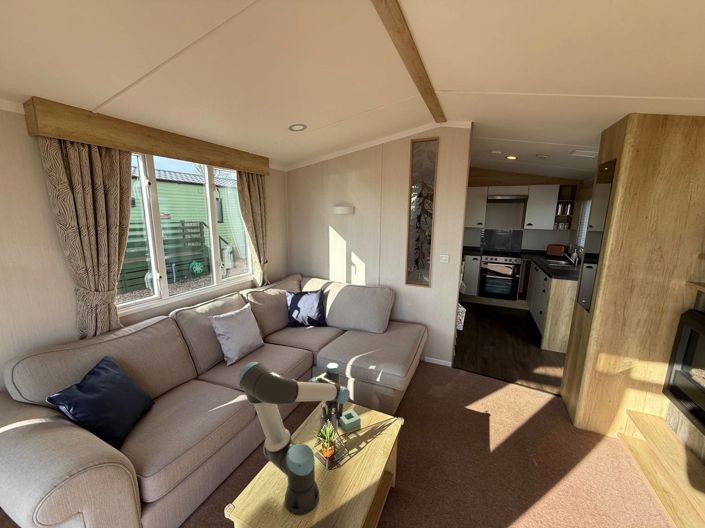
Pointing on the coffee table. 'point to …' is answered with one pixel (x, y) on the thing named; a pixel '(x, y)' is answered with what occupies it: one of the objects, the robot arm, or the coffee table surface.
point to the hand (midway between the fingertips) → (332, 430)
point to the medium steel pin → (321, 421)
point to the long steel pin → (333, 420)
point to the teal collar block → (349, 420)
